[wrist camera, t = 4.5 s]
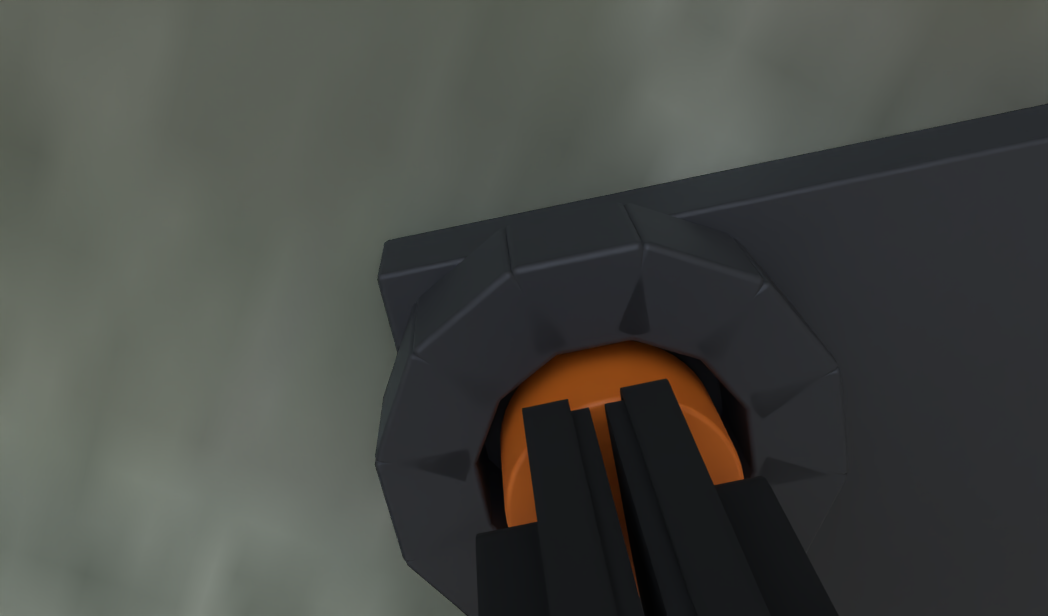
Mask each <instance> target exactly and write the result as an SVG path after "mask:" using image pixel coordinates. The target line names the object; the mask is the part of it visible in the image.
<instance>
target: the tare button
mask: <svg viewBox="0 0 1048 616" xmlns="http://www.w3.org/2000/svg"><path fill="white" fill-rule="evenodd" d="M665 378H666V379H668V381H669V383H670V385H671V387H672V390H673V392H674V394H675V397H676V399H677V401H678V404H679V406H680V408H681V410H682V413H683V415H684V417H685V420H686V422H687V424H688V427H689V429H690V431H691V433H692V436H693V438H694V440H695V443H696V445H697V447H698V450H699V452H700V454H701V456H702V459H703V461H704V463H705V466H706V468H707V470H708V473H709V475H710V477H711V479H712V482H713V484H714V485H718V484H722V483H727V482H732V481H737V480H742V479H744V475H743V470H742V465H741V462H740V459H739V457H738V454H737V451H736V449H735V447H734V445H733V443H732V441H731V439H730V437H729V435H728V433H727V431H726V429H725V427H724V424H723V422H722V420H721V418H720V416H719V414H718V412H717V410H716V408H715V406H714V404H713V402H712V400H711V398H710V396H709V394H708V392H707V390H706V388H705V386H704V385H703V383H702V381H701V380H700V379H699V378H698V376H697V375H696V374H695V373H694V371H692V370H691V369H690V368H689V367H688V366H687V365H686V364H685V363H684V362H682V361H681V360H680V359H678V358H677V357H675V356H674V355H672V354H670V353H668V352H666V351H664V350H662V349H660V348H657V347H654V346H652V345H648V344H645V343H640V342H636V341H624V342H619V343H614V344H609V345H604V346H599V347H594V348H590V349H585V350H580V351H575V352H570V353H565V354H560V355H556V356H555V357H554V358H552V359H551V360H550V361H549V362H547V363H546V364H545V365H544V366H542V367H541V368H540V369H539V370H537V371H536V372H535V373H534V374H532V375H531V376H530V377H529V378H527V379H526V380H525V381H524V382H522V383H521V384H520V385H519V387H518V388H517V390H516V391H515V393H514V394H513V396H512V398H511V399H510V402H509V404H508V406H507V408H506V410H505V414H504V417H503V420H502V425H501V432H500V451H501V465H502V478H503V491H504V505H505V514H506V520H507V525H508V527H513V526H518V525H523V524H528V523H533V522H537V516H536V508H535V501H534V494H533V487H532V480H531V472H530V465H529V458H528V451H527V444H526V436H525V429H524V422H523V415H522V408H525V407H530V406H535V405H540V404H545V403H550V402H554V401H559V400H564V399H568V401H569V406H570V410H571V411H573V410H578V409H582V408H587V407H589V409H590V413H591V417H592V420H593V424H594V428H595V432H596V435H597V439H598V443H599V447H600V451H601V454H602V458H603V462H604V466H605V469H606V473H607V477H608V481H609V485H610V488H611V492H612V496H613V500H614V503H615V507H616V511H617V515H618V518H619V522H620V526H621V530H622V534H623V537H624V541H625V545H626V549H627V552H628V556H629V560H630V564H631V568H632V571H633V575H634V579H635V583H636V586H637V590H638V585H637V579H636V574H635V568H634V563H633V558H632V552H631V547H630V542H629V536H628V531H627V526H626V520H625V515H624V509H623V504H622V499H621V493H620V488H619V483H618V477H617V472H616V466H615V461H614V456H613V450H612V445H611V440H610V434H609V429H608V424H607V418H606V413H605V405H604V404H607V403H611V402H616V401H621V395H620V388H622V387H627V386H632V385H636V384H641V383H646V382H651V381H656V380H661V379H665ZM638 594H639V590H638ZM639 596H640V595H639Z"/></svg>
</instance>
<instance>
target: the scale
mask: <svg viewBox="0 0 1048 616" xmlns="http://www.w3.org/2000/svg"><path fill="white" fill-rule="evenodd" d="M377 280H378V284H379V288H380V291H381V295H382V298H383V302H384V306H385V309H386V313H387V316H388V320H389V324H390V327H391V331H392V335H393V338H394V342H395V345H396V349H397V353H398V354H397V357H396V360H395V363H394V366H393V369H392V372H391V376H390V379H389V382H388V385H387V388H386V391H385V394H384V397H383V404H382V411H381V418H380V425H379V432H378V440H377V447H376V454H375V457H376V461H375V467H376V470H377V473H378V477H379V480H380V483H381V487H382V490H383V493H384V496H385V500H386V503H387V506H388V510H389V513H390V516H391V519H392V523H393V526H394V529H395V533H396V536H397V539H398V543H399V546H400V549H401V552H402V556H403V558H404V560H405V561H406V563H407V565H408V566H409V567H410V568H412V569H413V570H414V571H415V572H416V573H418V574H419V575H420V576H421V577H422V578H423V579H425V580H426V581H427V582H428V583H429V584H431V585H432V586H433V587H434V588H435V589H436V590H438V591H439V592H440V593H441V594H442V595H444V596H445V597H446V598H447V599H448V600H449V601H451V602H452V603H453V604H454V605H455V606H457V607H458V608H459V609H460V610H461V611H462V612H464V613H465V614H466V615H467V616H478V592H477V568H476V535H477V534H479V533H484V532H489V531H494V530H498V529H503V528H508V525H507V520H506V514H505V505H504V491H503V478H502V465H501V451H500V432H501V425H502V420H503V417H504V414H505V410H506V408H507V406H508V404H509V402H510V399H511V398H512V396H513V394H514V393H515V391H516V390H517V388H518V387H519V385H520V384H521V383H522V382H524V381H525V380H526V379H527V378H529V377H530V376H531V375H532V374H534V373H535V372H536V371H537V370H539V369H540V368H541V367H542V366H544V365H545V364H546V363H547V362H549V361H550V360H551V359H552V358H554V357H555V356H556V355H560V354H565V353H570V352H575V351H580V350H585V349H590V348H594V347H599V346H604V345H609V344H614V343H619V342H624V341H636V342H640V343H645V344H648V345H652V346H654V347H657V348H660V349H662V350H664V351H666V352H668V353H670V354H672V355H674V356H675V357H677V358H678V359H680V360H681V361H682V362H684V363H685V364H686V365H687V366H688V367H689V368H690V369H691V370H692V371H694V373H695V374H696V375H697V376H698V378H699V379H700V380H701V381H702V383H703V385H704V386H705V388H706V390H707V392H708V394H709V396H710V398H711V400H712V402H713V404H714V406H715V408H716V410H717V412H718V414H719V416H720V418H721V420H722V422H723V424H724V427H725V429H726V431H727V433H728V435H729V437H730V439H731V441H732V443H733V445H734V447H735V449H736V451H737V454H738V457H739V459H740V462H741V465H742V470H743V475H744V479H747V478H752V477H756V476H763V477H765V478H766V480H767V481H768V483H769V484H770V486H771V488H772V490H773V492H774V493H775V495H776V497H777V499H778V501H779V503H780V505H781V507H782V509H783V511H784V512H785V514H786V516H787V518H788V520H789V522H790V524H791V526H792V528H793V530H794V531H795V533H796V535H797V537H798V539H799V541H800V543H801V545H802V547H803V549H804V550H805V552H806V554H807V556H808V558H809V560H810V562H811V564H812V566H813V568H814V569H815V571H816V573H817V575H818V577H819V579H820V581H821V583H822V585H823V587H824V588H825V590H826V592H827V594H828V596H829V598H830V600H831V602H832V604H833V606H834V607H835V609H836V611H837V613H838V615H839V616H1048V104H1045V105H1040V106H1035V107H1031V108H1026V109H1021V110H1016V111H1011V112H1006V113H1001V114H997V115H992V116H987V117H982V118H977V119H972V120H968V121H963V122H958V123H953V124H948V125H943V126H939V127H934V128H929V129H924V130H919V131H914V132H910V133H905V134H900V135H895V136H890V137H885V138H881V139H876V140H871V141H866V142H861V143H856V144H852V145H847V146H842V147H837V148H832V149H827V150H823V151H818V152H813V153H808V154H803V155H798V156H794V157H789V158H784V159H779V160H774V161H769V162H765V163H760V164H755V165H750V166H745V167H740V168H736V169H731V170H726V171H721V172H716V173H711V174H707V175H702V176H697V177H692V178H687V179H682V180H678V181H673V182H668V183H663V184H658V185H653V186H649V187H644V188H639V189H634V190H629V191H624V192H620V193H615V194H610V195H605V196H600V197H595V198H591V199H586V200H581V201H576V202H571V203H566V204H562V205H557V206H552V207H547V208H542V209H537V210H533V211H528V212H523V213H518V214H513V215H508V216H504V217H499V218H494V219H489V220H484V221H479V222H475V223H470V224H465V225H460V226H455V227H450V228H446V229H441V230H436V231H431V232H426V233H421V234H417V235H412V236H407V237H402V238H397V239H392V240H388V241H386V242H385V243H384V248H383V253H382V258H381V263H380V268H379V273H378V278H377ZM639 598H640V596H639ZM640 601H641V599H640ZM641 605H642V604H641ZM642 609H643V608H642Z"/></svg>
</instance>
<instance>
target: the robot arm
mask: <svg viewBox="0 0 1048 616" xmlns="http://www.w3.org/2000/svg"><path fill="white" fill-rule="evenodd" d="M620 395H621V401H616V402H611V403H607V404H604V405H605V413H606V418H607V424H608V429H609V434H610V440H611V445H612V450H613V456H614V461H615V466H616V472H617V477H618V483H619V488H620V493H621V499H622V504H623V509H624V515H625V520H626V526H627V531H628V536H629V542H630V547H631V552H632V558H633V563H634V568H635V574H636V579H637V585H638V590H639V594H638V590H637V586H636V583H635V579H634V575H633V571H632V568H631V564H630V560H629V556H628V552H627V549H626V545H625V541H624V537H623V534H622V530H621V526H620V522H619V518H618V515H617V511H616V507H615V503H614V500H613V496H612V492H611V488H610V485H609V481H608V477H607V473H606V469H605V466H604V462H603V458H602V454H601V451H600V447H599V443H598V439H597V435H596V432H595V428H594V424H593V420H592V417H591V413H590V409H589V407H587V408H582V409H578V410H573V411H571V410H570V406H569V401H568V399H564V400H559V401H554V402H550V403H545V404H540V405H535V406H530V407H525V408H522V415H523V422H524V429H525V436H526V444H527V451H528V458H529V465H530V472H531V480H532V487H533V494H534V501H535V508H536V516H537V522H533V523H528V524H523V525H518V526H513V527H508V528H503V529H498V530H494V531H489V532H484V533H479V534H477V535H476V568H477V592H478V616H839V615H838V613H837V611H836V609H835V607H834V606H833V604H832V602H831V600H830V598H829V596H828V594H827V592H826V590H825V588H824V587H823V585H822V583H821V581H820V579H819V577H818V575H817V573H816V571H815V569H814V568H813V566H812V564H811V562H810V560H809V558H808V556H807V554H806V552H805V550H804V549H803V547H802V545H801V543H800V541H799V539H798V537H797V535H796V533H795V531H794V530H793V528H792V526H791V524H790V522H789V520H788V518H787V516H786V514H785V512H784V511H783V509H782V507H781V505H780V503H779V501H778V499H777V497H776V495H775V493H774V492H773V490H772V488H771V486H770V484H769V483H768V481H767V480H766V478H765V477H763V476H756V477H752V478H747V479H742V480H737V481H732V482H727V483H722V484H718V485H714V484H713V482H712V479H711V477H710V475H709V473H708V470H707V468H706V466H705V463H704V461H703V459H702V456H701V454H700V452H699V450H698V447H697V445H696V443H695V440H694V438H693V436H692V433H691V431H690V429H689V427H688V424H687V422H686V420H685V417H684V415H683V413H682V410H681V408H680V406H679V404H678V401H677V399H676V397H675V394H674V392H673V390H672V387H671V385H670V383H669V381H668V379H666V378H665V379H661V380H656V381H651V382H646V383H641V384H636V385H632V386H627V387H622V388H620ZM639 595H640V598H639ZM640 599H641V601H640ZM641 604H642V605H641ZM642 608H643V609H642Z"/></svg>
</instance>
